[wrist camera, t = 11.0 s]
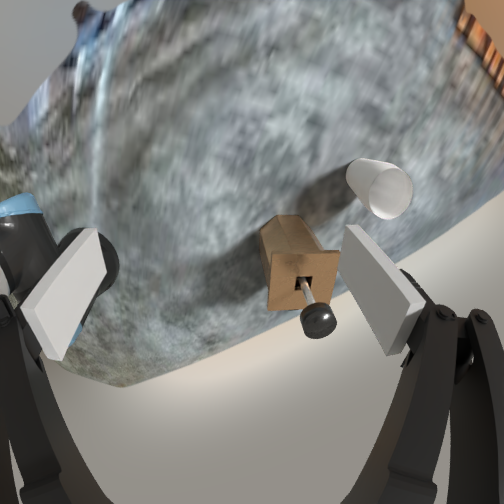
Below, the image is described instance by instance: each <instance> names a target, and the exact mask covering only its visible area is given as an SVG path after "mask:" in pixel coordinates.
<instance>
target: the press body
mask: <svg viewBox="0 0 504 504" xmlns="http://www.w3.org/2000/svg"><path fill="white" fill-rule="evenodd" d="M259 251H260V256H261V260H262V265H263V269H264V274H265V278H266V283H267V287H268V300H267V310H268V311H274V310H299V309H304V308H305V307H307V306H308V305H307V302H306V300H305V297H304V295H303V292H302V289H301V287H300V284H299V281H298V279H297V277H303V276H305V278H306V281H307V283H308V285H309V288H310V290H311V292H312V295H313V297H314V300H315V302H324V303H326V304H328V305H329V304H330V300H331V296H332V292H333V288H334V283H335V279H336V274H337V267H338V262H339V258H340V251H339V250H324V249H323V247H322V245H321V244H320V242H319V241H318V239H317V237H316V236H315V234H314V233H313V231H312V230H311V228H310V227H309V226H308V225H307V224H306V223H305V222H304V221H303V220H302V219H301V217H300V216H299V215H276V216H275V217H274V218H273V219H271V220H270V221H269V222H268V223H267V224H266V225H265V226H263V227H262V228H261V229H260V239H259Z"/></svg>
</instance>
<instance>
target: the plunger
mask: <svg viewBox="0 0 504 504" xmlns="http://www.w3.org/2000/svg"><path fill="white" fill-rule="evenodd" d="M297 279H298V281H299V284H300V287H301V289H302V292H303V295H304V297H305V300H306V302H307V305H308V306H307V307H305V308H304V309H303V311H302V312H301V314H300V321H301V324H302V327H303V330H304V333H305V335H306V336H307V337H309V338H311V339H320V338H323V337H326V336H328V335H329V334H331V333H332V332H333V331H334V329H335V328H336V325H337V321H336V318H335V316H334V314H333V312H332V309H331V307H330V306H329V305H328V304H326V303H324V302H315V300H314V297H313V295H312V292H311V290H310V288H309V285H308V283H307V281H306V278H305V276H303V277H297Z"/></svg>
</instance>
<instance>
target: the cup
mask: <svg viewBox="0 0 504 504" xmlns="http://www.w3.org/2000/svg"><path fill="white" fill-rule="evenodd" d="M346 181H347V183H348V185H349V186H350V188H351V189H352V190H353V192H354V193H355V194H356V196H357V197H358V198H359V200H360V201H361V202H362V204H363V205H364V206H365V207H366V208H367V209H368V210H369V211H371V212H372V213H374V214H375V215H376V216H378V217H380V218H382V219H393V218H396V217H398V216H400V215H401V214H402V213H403V212H404V211H405V210H406V209H407V208H408V206H409V204H410V202H411V199H412V195H413V185H412V181H411V179H410V177H409V176H408V174H407V173H406V172H404V171H403V170H401V169H400V168H398V167H396V166H395V165H393V164H391V163H387V162H381V161H376V160H370V159H363V158H360V159H356V160H354V161H353V162H352V163H351V164H350V165H349V166H348V168H347V171H346Z"/></svg>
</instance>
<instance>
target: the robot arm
mask: <svg viewBox="0 0 504 504" xmlns="http://www.w3.org/2000/svg"><path fill="white" fill-rule="evenodd" d="M337 270H338V271H339V273H340V275H341V276H342V278H343V280H344V281H345V283H346V285H347V287H348V288H349V290H350V292H351V293H352V295H353V297H354V298H355V300H356V302H357V304H358V305H359V307H360V309H361V311H362V313H363V314H364V316H365V318H366V320H367V321H368V323H369V325H370V327H371V329H372V331H373V332H374V334H375V336H376V338H377V340H378V341H379V343H380V345H381V347H382V349H383V351H384V353H385V355H386V356H389V355H394V354H399V353H401V352H402V350H403V348H404V346H405V344H406V343H407V344H408V346H409V348H410V351H409V352H408V354H407V356H406V358H405V359H404V361H403V363H402V365H401V367H403V366H404V367H403V370H402V374H401V377H400V380H399V383H398V386H397V389H396V392H395V395H394V398H393V401H392V403H391V406H390V409H389V411H388V414H387V416H386V419H385V421H384V424H383V426H382V429H381V431H380V433H379V436H378V438H377V441H376V443H375V445H374V447H373V449H372V451H371V454H370V456H369V458H368V460H367V462H366V464H365V466H364V468H363V470H362V472H361V473H360V475H359V477H358V479H357V481H356V483H355V485H354V486H353V488H352V490H351V491H350V493H349V494H348V495H347V496H346V497H345V499H344V500H343V501H342V502H341V504H433V503H434V501H435V498H436V494H437V485H436V484H435V483H433V482H432V478H433V474H434V471H435V467H436V464H437V461H438V457H439V454H440V449H441V446H442V442H443V438H444V434H445V429H446V425H447V420H448V415H449V409H450V430H451V431H450V432H451V450H450V475H449V487H448V496H447V504H504V350H503V347H502V345H501V342H500V339H499V336H498V333H497V331H496V328H495V325H494V323H493V320H492V319H491V317H490V316H489V315H488V314H487V313H486V312H484V311H483V310H479V309H473V310H471V312H470V314H469V316H468V318H461V317H457V316H456V314H455V312H454V311H453V310H451V309H450V308H448V307H446V306H444V305H440V304H439V305H435V303H434V302H433V301H432V300H431V299H430V298H429V296H428V295H427V294H426V293H425V292H424V290H423V289H422V288H420V286H419V285H418V283H416V281H415V280H414V279H413V277H412V276H411V275H410V274H408V273H407V272H405V271H404V270H402V269H398V268H397V266H396V265H395V264H394V263H393V262H392V261H391V260H390V258H389V257H388V256H387V255H386V254H385V253H384V252H383V251H382V250H381V249H380V247H379V246H378V245H377V244H376V243H375V242H374V241H373V240H372V239H371V238H370V237H369V236H368V235H367V234H366V232H365V231H364V230H363V229H362V228H361V227H360V226H359V225H346V227H345V232H344V237H343V243H342V248H341V253H340V258H339V262H338V267H337ZM118 273H119V259H118V255H117V253H116V251H115V249H114V247H113V246H112V244H111V243H110V242H109V241H108V239H106V238H105V237H104V236H103V235H102V234H100V233H98V232H97V228H77V229H74V230H72V231H70V232H69V233H67V234H66V235H65V236H64V238H63V239H62V240H61V241H60V243H59V245H58V246H57V244H56V242H55V240H54V238H53V236H52V234H51V232H50V230H49V228H48V225H47V223H46V221H45V219H44V217H43V212H42V211H41V210H40V208H39V206H38V204H37V202H36V199H35V197H34V196H33V195H32V194H30V193H22V194H19V195H16V196H14V197H11V198H9V199H7V200H5V201H3V202H1V203H0V504H19V501H18V497H17V492H16V487H15V482H14V477H13V470H12V464H11V456H10V447H9V440H10V443H11V446H12V450H13V453H14V456H15V459H16V462H17V465H18V468H19V470H20V472H21V476H22V478H23V481H24V487H22V488H21V489H20V497H21V501H22V503H23V504H114V503H113V502H111V501H110V500H109V499H108V498H107V497H106V496H105V494H104V493H103V491H102V490H101V488H100V487H99V485H98V484H97V482H96V480H95V479H94V477H93V476H92V474H91V472H90V470H89V469H88V467H87V466H86V463H85V462H84V460H83V458H82V456H81V454H80V453H79V450H78V448H77V447H76V445H75V443H74V441H73V439H72V436H71V434H70V432H69V430H68V428H67V426H66V423H65V421H64V419H63V417H62V414H61V412H60V409H59V407H58V404H57V402H56V399H55V397H54V394H53V391H52V389H51V386H50V383H49V380H48V377H47V374H46V371H45V368H44V365H43V361H42V359H41V358H40V356H39V354H40V352H41V350H42V349H43V351H44V353H45V354H46V356H47V358H48V359H52V360H58V361H62V359H63V357H64V355H65V353H66V350H67V348H68V347H70V346H71V345H72V344H73V343H74V342H75V340H76V338H77V336H78V335H79V333H80V332H81V331H82V327H83V325H84V323H85V320H86V318H87V316H88V314H89V312H90V310H91V308H92V306H93V304H94V302H95V300H96V298H97V297H98V296H99V295H101V294H102V293H103V292H105V291H106V290H108V289H109V288H110V287H111V286H112V285H113V283H114V281H115V280H116V278H117V276H118ZM11 293H13V295H14V296H15V298H16V300H17V301H18V303H19V304H18V305H17V307H16V308H15V310H14V309H13V307H12V305H11V303H10V301H9V299H8V296H9V295H10V294H11ZM473 357H474V360H473V363H472V358H473Z"/></svg>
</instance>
